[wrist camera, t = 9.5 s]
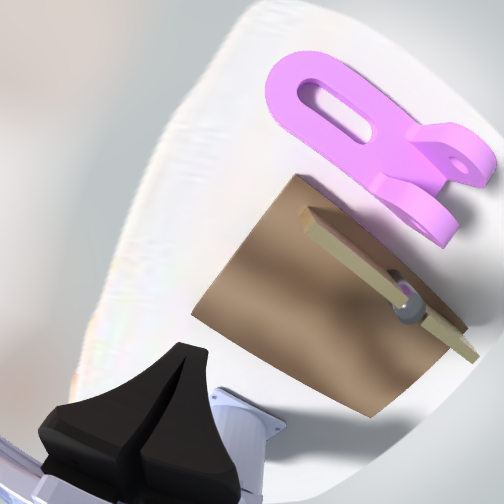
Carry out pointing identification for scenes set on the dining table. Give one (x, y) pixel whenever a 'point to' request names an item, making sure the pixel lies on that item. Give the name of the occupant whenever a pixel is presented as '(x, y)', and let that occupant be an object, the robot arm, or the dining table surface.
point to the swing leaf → (447, 333)
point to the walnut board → (321, 308)
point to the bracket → (381, 142)
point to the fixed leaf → (365, 267)
